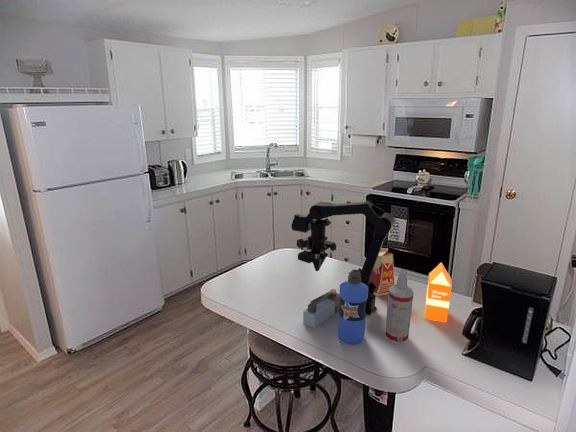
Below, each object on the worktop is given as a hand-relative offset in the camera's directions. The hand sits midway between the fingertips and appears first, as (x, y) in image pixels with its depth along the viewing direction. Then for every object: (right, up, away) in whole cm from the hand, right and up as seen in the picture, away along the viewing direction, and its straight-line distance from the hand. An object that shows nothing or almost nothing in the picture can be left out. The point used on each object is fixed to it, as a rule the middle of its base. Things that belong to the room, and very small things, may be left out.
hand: (317, 270), depth 151 cm
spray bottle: (+26, -20, -22) cm, 39 cm away
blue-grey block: (0, -16, -11) cm, 19 cm away
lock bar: (+2, -9, -10) cm, 14 cm away
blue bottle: (+10, -20, -22) cm, 31 cm away
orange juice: (+44, -16, -8) cm, 48 cm away
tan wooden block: (+6, -14, -5) cm, 16 cm away
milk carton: (+28, -10, +10) cm, 31 cm away
